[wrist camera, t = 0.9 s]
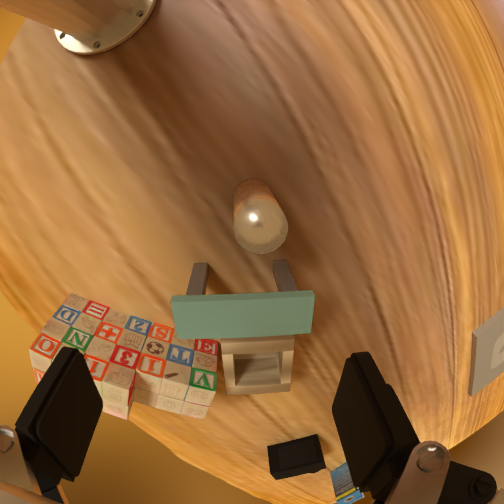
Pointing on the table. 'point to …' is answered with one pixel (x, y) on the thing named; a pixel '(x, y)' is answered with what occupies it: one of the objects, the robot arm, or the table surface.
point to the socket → (257, 364)
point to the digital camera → (296, 457)
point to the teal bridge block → (243, 309)
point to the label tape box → (344, 485)
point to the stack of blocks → (131, 358)
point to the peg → (258, 218)
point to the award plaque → (487, 353)
